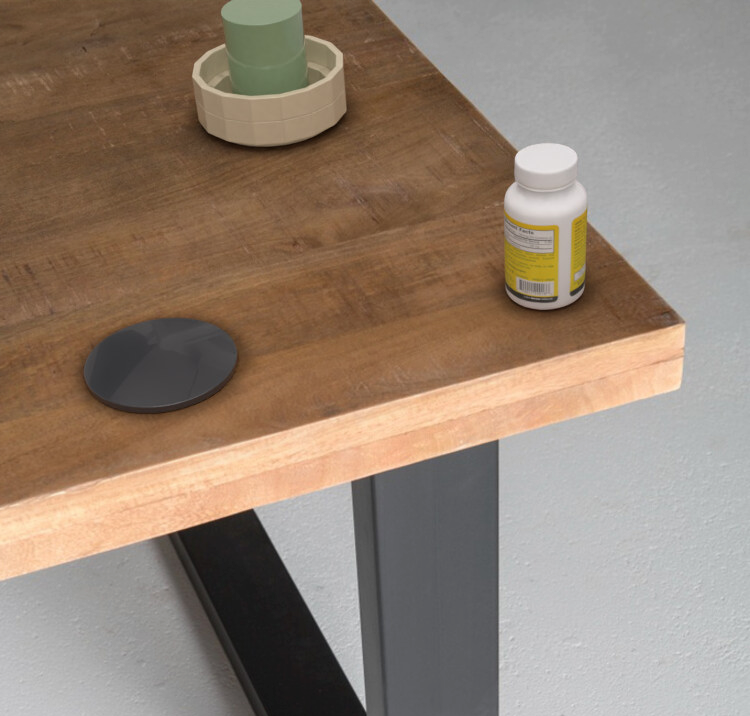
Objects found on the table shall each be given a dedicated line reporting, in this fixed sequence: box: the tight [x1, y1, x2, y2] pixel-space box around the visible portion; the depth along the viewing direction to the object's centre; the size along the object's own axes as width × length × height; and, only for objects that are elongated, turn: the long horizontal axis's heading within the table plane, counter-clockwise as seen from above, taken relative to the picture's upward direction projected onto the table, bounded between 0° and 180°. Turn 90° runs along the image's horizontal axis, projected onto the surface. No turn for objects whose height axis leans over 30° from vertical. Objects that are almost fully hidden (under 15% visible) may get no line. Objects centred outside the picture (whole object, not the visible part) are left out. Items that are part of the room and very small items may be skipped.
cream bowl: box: [191, 34, 348, 148], centre depth 116 cm, size 12×12×4 cm
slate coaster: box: [83, 317, 239, 414], centre depth 92 cm, size 10×10×1 cm
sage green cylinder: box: [220, 0, 309, 96], centre depth 114 cm, size 6×6×8 cm
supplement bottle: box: [503, 142, 589, 311], centre depth 92 cm, size 5×5×10 cm
